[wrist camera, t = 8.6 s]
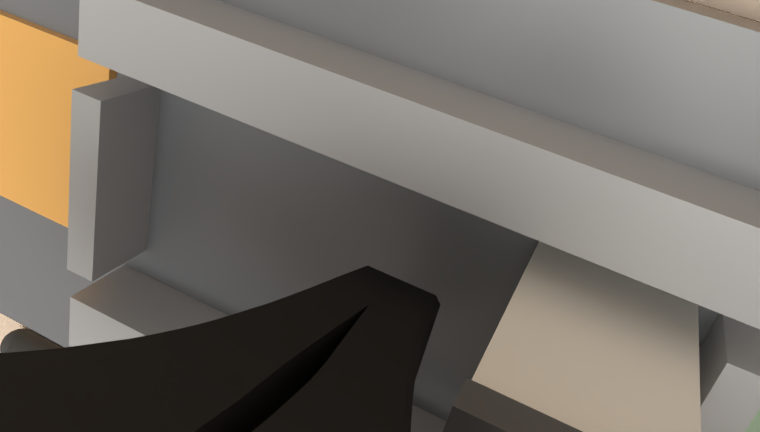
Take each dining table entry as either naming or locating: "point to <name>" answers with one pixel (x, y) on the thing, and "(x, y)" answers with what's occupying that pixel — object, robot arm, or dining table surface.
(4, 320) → the dining table surface
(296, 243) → the breaker panel
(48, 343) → the dark grey rod
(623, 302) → the grey and beige block
